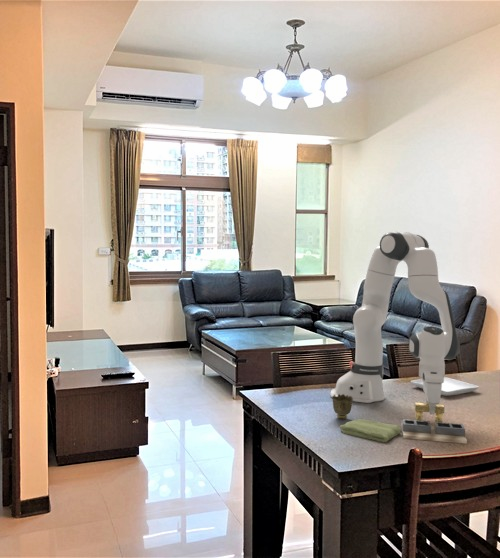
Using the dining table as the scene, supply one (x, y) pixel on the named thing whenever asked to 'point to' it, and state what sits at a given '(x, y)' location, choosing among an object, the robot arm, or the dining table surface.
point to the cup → (342, 405)
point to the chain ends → (439, 427)
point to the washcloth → (370, 430)
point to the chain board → (434, 436)
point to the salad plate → (450, 386)
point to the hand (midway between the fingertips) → (430, 409)
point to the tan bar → (425, 408)
